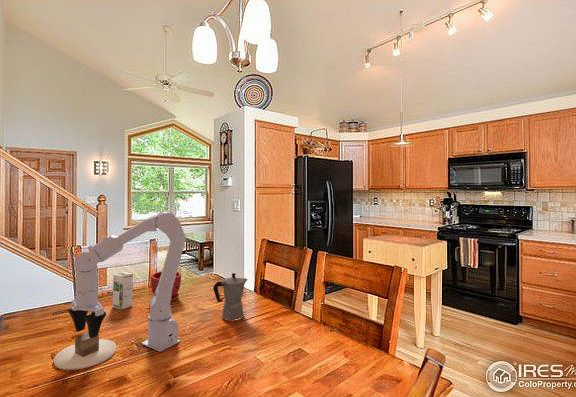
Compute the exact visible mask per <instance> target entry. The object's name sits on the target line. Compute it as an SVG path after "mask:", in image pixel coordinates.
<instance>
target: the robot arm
mask: <svg viewBox="0 0 576 397" xmlns="http://www.w3.org/2000/svg"><path fill="white" fill-rule="evenodd" d="M157 229H159V230H160V231H161V232H162V233H163V234H165V235H166V237H167V238H168V239H169V244H168V248H167V252H166V255H165V259H164V263H163V267H162V270H161V272H162V273H161V277H160V280H159V284H158V287H157V289H156V292H155V294H153V295H152V297H150V299H149V307H150V309H149V314H148V316H147V320H148V321H147V339H146V340H144V341H143V342H141V345H142V346H145V347H148V348H151V349H153V350H154V351H158V352H160V353H161V352H163V351H165V350H167V349H168V348H170V347H174V346H175V345H177V344H179V343H180V341H181V340H180V339H179V323H178V321H176V320H175V319H174V318H173V316H172V306H171V302H172V301H171V295H172V288H173V285H174V281H175V277H176V274H177V272H178V270H179V266H180V262H181V259H182V256H183V251H184V247H185V245H186V244H185V243H186V239H187V238H186V234H185V232H184V229H183V226H182V223H181V220H179V219H178V218H177V216H176V215H175V214H174V213H173V212H172V211H168V210H163V211H159V213H158V214H153V215H151V216H149V217H147V218H145V219H143V220H142V221H140V222H139V223H137V224H136V225H134V226H132V227H131V228H129V229H128V230H126V231H124V232H123V233H121V234H119V235H111V234H110V235H109V236H108V235H105V236H104V237H103V238H102V240H101V241H99V242H98V243H95V244H94V245H89V246H88V247H87V249H84V250H82V251H81V252H80V253H78V255H77V256H76V257H75V258H74V264H73V265H74V267H75V269H76V270H75V273H76V275H75V299H71V301H70V303H71V308H70V309H68V310H67V313H68V315H70V317H71V319H72V321H73V325H74V328H75V332H77V333H78V332H81V331H83V330H85V328H86V325H87V330H88V331H87V332H89V337H90V338H93V337H96V336H98V334H99V333H100V329H101V326H102V323H103V321H104V319H105V317H107V311H104V310H105V309H104V307H103V306H102V305H101V303H100V302H99V273H98V264H99V263H102V262H105V261H107V260H108V259H110V258H111V257H113V256H115V255H116V254H118V253H120V252H121V251H122V250H123V248H124V245H125V244H127V243H129V242H131V241H132V240H135V239H136V238H138V237H140V236H141V235H143V234H145V233H147V232H158V231H157ZM170 301H171V302H170ZM88 312H89V313H90V314H88Z"/></svg>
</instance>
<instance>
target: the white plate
mask: <svg viewBox="0 0 576 397" xmlns="http://www.w3.org/2000/svg"><path fill="white" fill-rule="evenodd" d="M116 352H117V344H116V343H115V342H114V341H112V340H111V339H105V338H104V339H100V338H99V351H96V352H94V353H92V354H89V355H87V356H84V357H82V356H80V355H78V354H76V353H75V343H74V344H71V345H69V346H67V347H64V348H63V349H62V350H60V351H59V352H57V353H56V354H55V356H54V357H53V366H55V368H58V369H60V370H63V371H75V370H81V369H87V368H90V367H93V366H96V365H99V364H102V363H105V361H107V360H109V359H110V358H112V356H113V355H114V354H115V353H116Z"/></svg>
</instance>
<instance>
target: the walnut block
mask: <svg viewBox="0 0 576 397" xmlns="http://www.w3.org/2000/svg"><path fill="white" fill-rule="evenodd" d="M99 339H100V334H99V333H98V336H96V337H93V338H90V337H89V332H88V331H87V332H85V333H84V332H83V333H81V334H78V335H76V336H75V337H74V344H75V353H76V354H78V355H80V356H82V357H84V356H87V355H89V354H92V353H94V352H96V351H99Z"/></svg>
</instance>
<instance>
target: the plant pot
mask: <svg viewBox="0 0 576 397" xmlns="http://www.w3.org/2000/svg"><path fill="white" fill-rule="evenodd" d="M161 273H162V271H158V272H155V273H153V274H151V276H150V288H151V291H152V294H153V295H154V294H155V292H156V289H157V287H158V284H159V280H160V277H161ZM181 284H182V273H181V272H179V271H177V274H176V277H175V281H174V285H173V288H172V295H171V301H170V303H171V302H174V301H176V300H177V299H178V298H179V297H180V295H179V293H178V292H179V290H180V289H181Z"/></svg>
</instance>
